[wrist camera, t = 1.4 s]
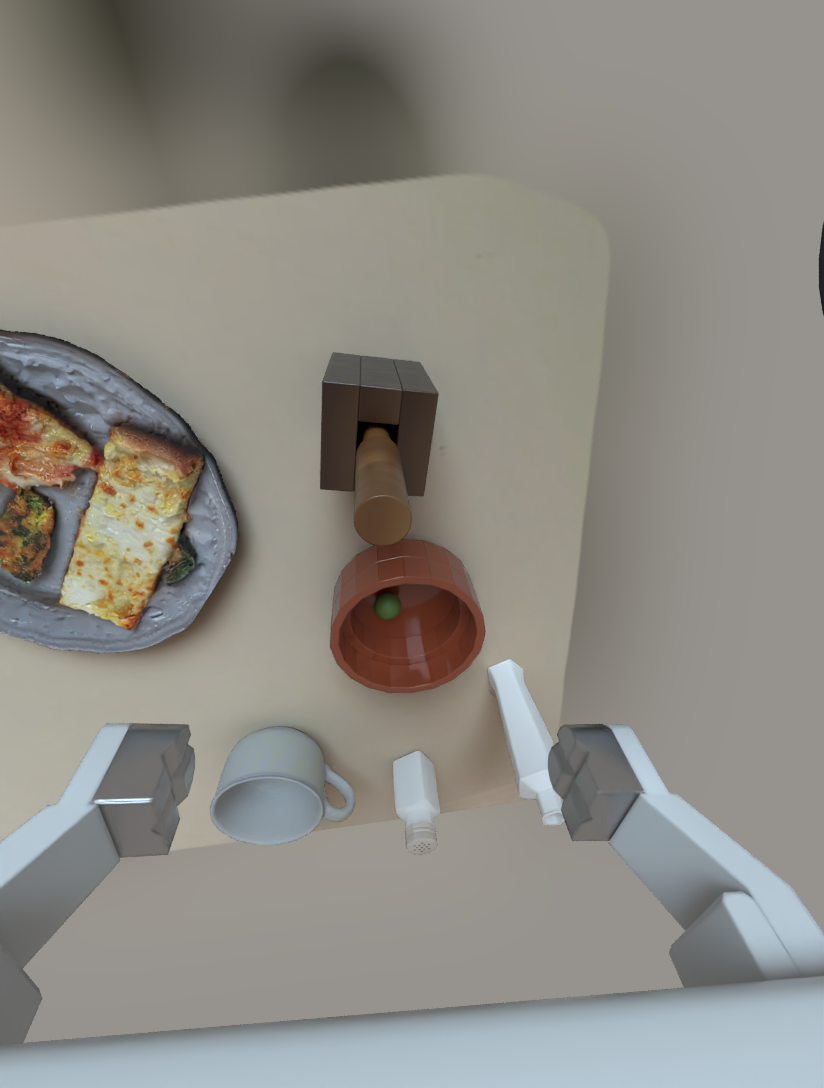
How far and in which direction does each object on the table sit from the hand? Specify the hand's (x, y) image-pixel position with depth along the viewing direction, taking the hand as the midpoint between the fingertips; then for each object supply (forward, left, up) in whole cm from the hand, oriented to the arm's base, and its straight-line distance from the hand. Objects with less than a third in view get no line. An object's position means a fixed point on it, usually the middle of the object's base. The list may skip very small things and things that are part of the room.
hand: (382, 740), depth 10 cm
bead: (-3, +16, -25) cm, 30 cm away
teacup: (+6, +38, -27) cm, 47 cm away
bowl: (-4, +16, -27) cm, 32 cm away
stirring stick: (0, -1, -27) cm, 27 cm away
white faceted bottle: (-16, +26, -27) cm, 41 cm away
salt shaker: (-8, +41, -27) cm, 50 cm away
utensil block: (0, -1, -27) cm, 27 cm away
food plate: (+22, +9, -27) cm, 36 cm away
